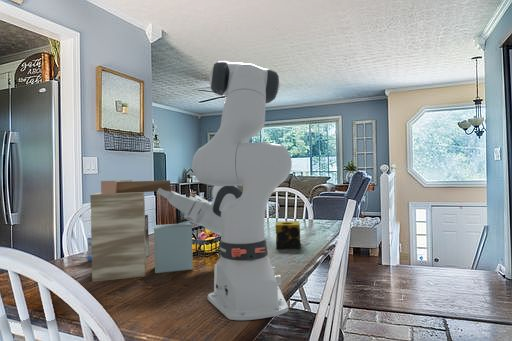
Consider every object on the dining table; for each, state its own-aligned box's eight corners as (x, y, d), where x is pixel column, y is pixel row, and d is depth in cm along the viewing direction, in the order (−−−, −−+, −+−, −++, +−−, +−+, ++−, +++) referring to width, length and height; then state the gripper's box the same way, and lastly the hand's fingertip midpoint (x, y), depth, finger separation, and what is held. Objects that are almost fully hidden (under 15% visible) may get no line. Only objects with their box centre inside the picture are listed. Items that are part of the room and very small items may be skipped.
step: (192, 269, 114) (191, 226, 114) (155, 273, 111) (154, 228, 111) (190, 263, 122) (189, 223, 122) (155, 266, 118) (154, 225, 118)
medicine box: (87, 260, 129) (86, 237, 129) (97, 258, 133) (97, 235, 133) (101, 263, 126) (100, 239, 126) (111, 260, 130) (111, 237, 130)
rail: (170, 190, 115) (170, 180, 115) (108, 193, 109) (108, 182, 109) (170, 190, 118) (169, 180, 118) (109, 192, 112) (109, 182, 112)
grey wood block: (145, 276, 107) (143, 192, 108) (92, 281, 103) (90, 194, 103) (146, 265, 120) (144, 190, 120) (99, 270, 116) (97, 192, 116)
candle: (300, 244, 150) (299, 221, 150) (301, 249, 140) (300, 224, 140) (276, 244, 151) (276, 221, 151) (275, 249, 141) (275, 224, 141)
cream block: (132, 191, 116) (132, 179, 116) (120, 192, 114) (120, 180, 114) (130, 191, 119) (129, 179, 119) (118, 192, 117) (118, 180, 117)
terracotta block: (115, 193, 105) (115, 180, 105) (101, 194, 104) (100, 181, 104) (116, 193, 109) (116, 180, 109) (103, 193, 108) (102, 180, 108)
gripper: (195, 198, 129) (161, 180, 126) (202, 202, 109) (162, 181, 106) (187, 213, 128) (153, 196, 125) (192, 220, 108) (152, 199, 105)
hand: (157, 189), depth 115 cm, fingers open, 8 cm apart
